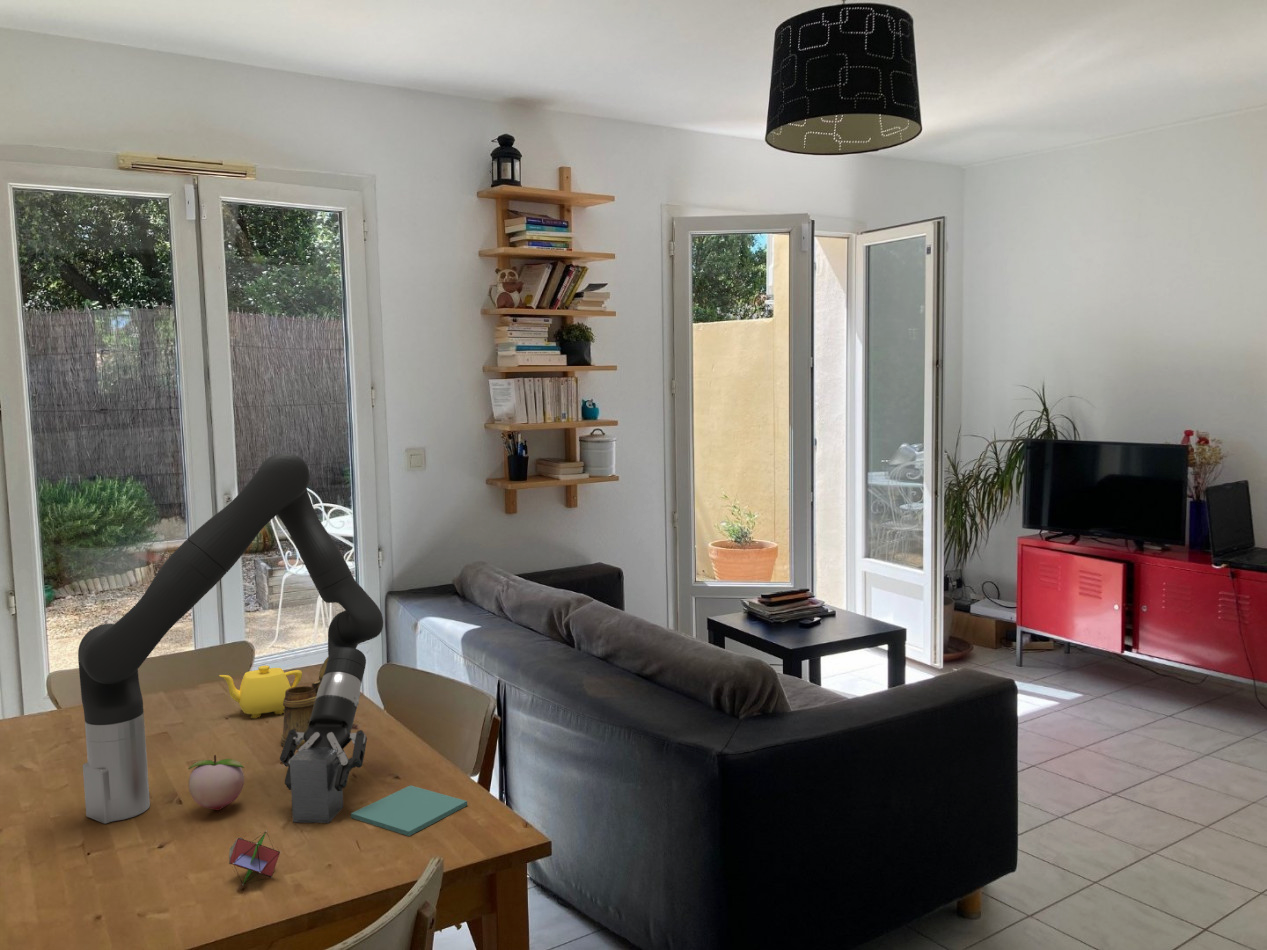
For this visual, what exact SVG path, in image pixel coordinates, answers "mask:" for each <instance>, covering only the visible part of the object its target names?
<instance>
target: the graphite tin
mask: <svg viewBox="0 0 1267 950" xmlns="http://www.w3.org/2000/svg"><path fill="white" fill-rule="evenodd" d="M337 751H338V749H333V747H311V748H308V749H302V750H301V751H299V752H298V751H297V752H298V753H297V752H296V753H297V754H296V753H295V754H296V755H295V754H294V755H295V756H294V757H293V758H291V759H290V775H291V790H290V793H291V794H290V795H291V806H292V808H291V810H292V823H303V824H304V823H305V824H307V823H309V824H311V823H314V824H316V823H317V824H318V823H319V824H330V823H331V821H333V820H334V819H335V817H336V816H337V815H338V814H339V813H340V812H341V811H342V810H343V808H344V792H343V789H344V788H343V789H342V791H337V790H336V789H335V787H334V785H335V781H336V777H337V773H338V769H339V766H341V762H340V760H339V758H338V757H337Z"/></svg>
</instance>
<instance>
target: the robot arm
mask: <svg viewBox="0 0 1267 950" xmlns="http://www.w3.org/2000/svg"><path fill="white" fill-rule="evenodd" d="M310 477H311V475H310V470H309V466H308V464H307V463H306V461H305V460H304V459H303V458H302V457H300V456H299V455H296V454H294V453H291V452H290V453H289V452H279V453H276V454H273V455H270V456H269V457H267V458H266V459H264V461H263V462H262V463H261V465H260V466H259V468H258V470H257V471H256V472H255V474H254V475H253V476H252V478H251V479H250V480H249V482H247V484H246V485H245V486H244V488H243V489H242V490H241V491H240V492H239V493H238V494H237V495H236V497H234V498H233V500H232V501H230V502H229V503H228V504H227V505H226V506H224V507H223V508H222V509H220V511H218V512H217V513H215V514H214V515H213V516H212V517H210V518H209V519H207V521H206V522H204V523H203V524H202V525H201V526H200V527H198V528H197V530H195V531H194V532H193V533H192V534H191V535H190V536H189V537H188V538H186V539H185V540H184V542H183V543H182V544H181V545H180V546H179V547H177V549H176V550H175V551H174V552H173V553H172V554H170V556H169V557H168V558H167V559H166V560H165V561H164V563H163V564H162V566H161V567H160V568H159V570H158V571H157V573H156V575H155V576H154V577H153V578H152V580H151V582H150V584H149V586H148V587H147V589H146V591H144V594H143V595H142V596H141V598H140V599H138V601H137V603H135V604H134V606H133V607H131V609H130V610H129V611H127V612H126V613H125V614H124V615H123V616H122V617H120V619H119V620H118V621H116V622H115V623H103V624H99V625H97V626H94V627H92V628H90V630H88V632H86V634H85V635H84V636H83V637H82V639H81V641H80V642H79V645H78V649H77V651H78V652H77V657H78V658H77V660H78V663H77V664H78V673H79V685H80V697H81V703H82V708H83V709H82V710H83V717H84V728H85V744H86V757H87V762H85V763H83V765H82V772H83V775H82V776H83V789H84V803H85V814H86V815H85V816H86V817H87V818H89V819H92V820H95V821H97V822H99V823H102V824H105V825H106V824H108V823H111V822H117V821H123V820H127V819H131V818H133V817H137V816H139V815H141V814H143V813H145V812H146V811H148V810H149V808H150V806H151V804H150V787H149V773H148V771H149V770H148V757H147V744H146V743H147V741H146V740H147V739H146V726H145V713H144V701H143V700H144V699H143V694H142V691H141V684H140V678H139V669H140V667H141V666H142V664H143V663H144V662H145V661H146V660H147V658H148V657H149V656H150V654H151V653H152V652H153V650H154V649H155V648H156V647H157V646H158V644H159V643H160V642H161V640H162V639H163V638H164V637H165V636H166V635H167V633H168V632H169V630H171V628H172V627H173V626H174V625H176V624H177V623H178V622H179V620H181V619H182V618H183V617H184V616H185V615H186V614H187V613H189V611H190V610H191V609H193V607H194V606H195V605H197V603H199V602H200V600H201V599H202V598H203V597H204V596H206V594H207V593H208V592H210V590H212V589H213V588H214V587H215V586H216V585H217V583H219V582H220V581H221V579H222V578H223V577H224V576H226V574H227V573H228V572H229V571H230V570H231V569H232V567H233V566H234V565H235V564H236V563H237V562H238V561H239V559H241V557H242V556H243V554H244V553H245V552H246V551H247V549H248V548H249V547H250V546H251V544H252V543H253V541H254V540H255V539H256V538H257V536H258V535H259V534H260V532H261V531H262V530H263V529H264V527H265V526H267V525H268V523H270V521H271V520H273V519H274V518H275V517H276V516H277V517H278V518H279V520H280V521H281V523H282V524H283V525H284V527H285V529H286V530H287V532H288V534H289V536H290V537H291V540H292V542H293V543H294V545H295V547H296V549H297V552H298V553H299V556H300V558H301V560H302V561H303V565H304V566H305V569H306V570H307V572H308V574H309V576H310V578H311V580H312V582H313V584H314V586H315V588H316V590H317V592H318V594H319V596H320V598H321V599H322V600H323V602H325V603H328V604H334V603H335V604H336V603H337V604H339V605H340V606H341V607H342V608H343V611H340V612H339V613H337V614H335V616H334V617H333V618H332V620H331V621H330V623H329V625H328V629H327V655H328V656H327V657H328V661H327V665H326V668H325V672H324V676H323V679H322V681H321V684H320V686H319V689H318V692H317V696H316V700H315V703H314V707H313V710H312V714H311V717H310V721H309V727H308V729H307V730H306V732H305V733H301V732H296V731H295V730H294V729H292V730H290V731H289V733H288V736H287V739H286V742H285V744H284V747H283V746H282V751H281V753H280V756H279V761H280V762H281V763H282V764H283V765H284V766H285V767H287V771H286V774H285V775H286V776H285V777H284V778H285V779H284V784H285V786H286V788H287V789H288V790H289V791H291V775H290V759H291V758H293V757H294V756H295V755H296V754H297V753H298V752H299V751H301V750H302V749H308V748H311V747H333V749H338V751H337V757H338V758H339V760H340V762H341V766H339V769H338V773H337V777H336V781H335V785H334V787H335V789H336V790H337V791H342V789H345V788H346V787H347V785H348V779H349V776H350V772H351V771H352V770H353V769H355V768H358V769H359V768H361V767H363V765H364V758H365V753H366V747H367V742H368V741H367V740H368V738H367V735H366V733H365V732H364V731H363V730H362V729H359V730H357V732H351V731H352V729H353V725H354V722H355V721H354V720H355V716H356V714H357V713H356V712H357V709H358V705H359V703H360V695H361V686H362V682H363V677H364V674H365V670H366V664H367V657H366V655H365V654H364V652H363V651H361V650H359V649H358V648H357V647H358V646H359V645H360V644H362V643H365V642H368V641H371V640H374V639H375V638H377V637H378V636H379V635H380V634H381V633H382V632H383V628H384V618H383V617H384V616H383V613H382V612H381V610H380V608H379V606H378V605H377V603H376V601H374V600H373V599H372V598H371V596H370V595H369V594H368V593H367V592H366V591H365V590H364V588H363V587H362V586H361V585H360V584H359V583H358V582H357V581H356V579H355V578H354V575H353V574H352V572H351V569H350V568H349V566H348V563H347V562H346V560H345V557H344V555H343V553H342V552H341V551H340V549H339V547H338V546H337V544H336V543H335V541H334V540H333V538H332V537H331V535H330V534H329V532H328V531H327V530H326V528H325V526H324V525H323V523H322V521H321V520H320V518H319V516H318V514H317V513H316V510H315V508H314V505H313V503H312V501H311V498H310V494H309V492H308V487H309V483H310ZM302 740H305V744H304V745H302V746H301V747H300V748H299V749H296V748H297V745H300V743H301V741H302ZM351 741H352V744H353V745H354V746H353V751H352V757H350V758H348V756H347V754H346V751H345V750H344V748H346V747H347V746H348V745H349V744H350V742H351ZM296 750H297V752H296Z"/></svg>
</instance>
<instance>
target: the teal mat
mask: <svg viewBox="0 0 1267 950" xmlns="http://www.w3.org/2000/svg"><path fill="white" fill-rule="evenodd" d="M467 806H468V801H467V800H465V799H462V798H457V797H454V796H450V795H447V794H443V793H439V792H436V791H433V790H429V789H424V788H422V787H418V786H415V785H408V786H406V787H403V788H402V789H399V790H398V791H395V792H393V793H392V794H389V795H387V796H385V797H383V798H381V799H379V800H376V801H374V802H372V803H370V804H368V805H365V806H363V807H361V808H359V809H357V810H355V811H352V812H351V813H350V817H351V818H350V819H354V820H357V821H361V822H363V823H366V824H369V825H372V826H376V827H379V828H382V829H385V830H388V831H391V832H395V833H398V834H401V835H404V836H407V837H411V836H413V835H414V834H416V833H418V832H420V831H422V830H424V829H425V828H428V827H429V826H431V825H433V824H435V823H437V822H438V821H440V820H442V819H444V818H446V817H448V816H450V815H452V814H454V813H456V812H459V810H462V809H464V808H465V807H467Z"/></svg>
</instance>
